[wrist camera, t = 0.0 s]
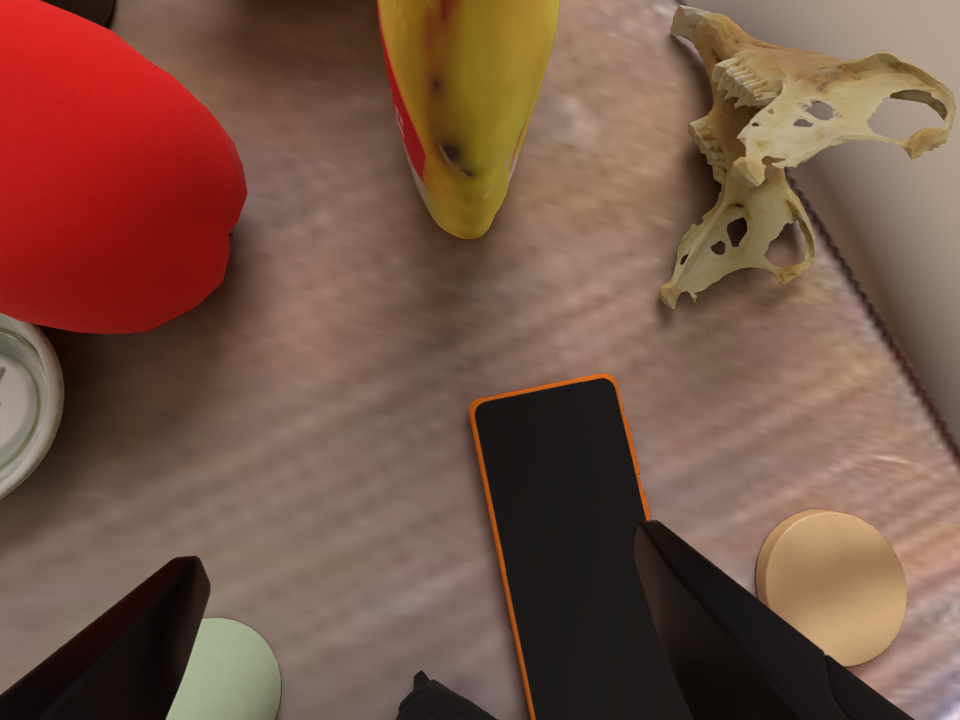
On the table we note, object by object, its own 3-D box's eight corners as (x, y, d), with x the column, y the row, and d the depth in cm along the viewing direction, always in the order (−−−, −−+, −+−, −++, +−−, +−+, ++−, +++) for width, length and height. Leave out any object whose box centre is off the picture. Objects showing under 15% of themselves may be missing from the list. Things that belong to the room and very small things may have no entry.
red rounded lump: (52, -144, 12) (225, 51, 22) (-390, -24, 12) (-7, 120, 22) (234, 285, 14) (316, 285, 24) (-131, 403, 14) (108, 353, 24)
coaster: (919, 603, 22) (936, 610, 22) (811, 688, 22) (824, 698, 21) (835, 481, 23) (848, 483, 22) (727, 560, 22) (737, 565, 21)
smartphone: (538, 761, 21) (541, 776, 20) (466, 401, 22) (466, 400, 22) (696, 720, 21) (705, 732, 20) (612, 371, 23) (617, 369, 22)
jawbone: (1023, 110, 16) (789, 186, 14) (837, 287, 24) (676, 348, 22) (731, -60, 23) (554, -25, 21) (666, 120, 31) (535, 156, 30)
